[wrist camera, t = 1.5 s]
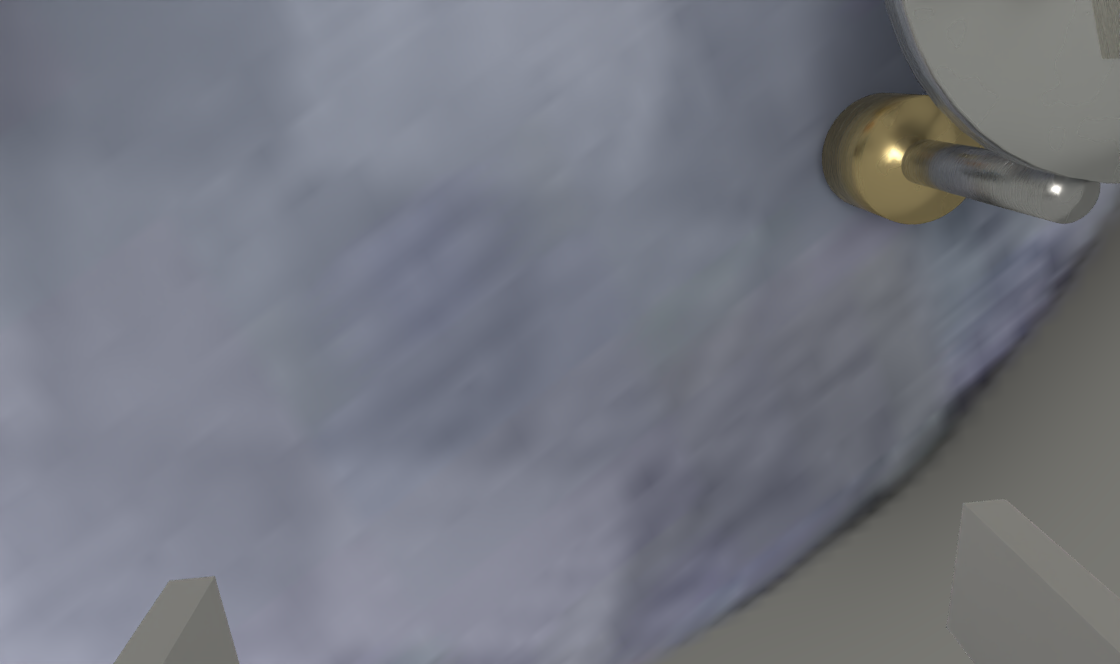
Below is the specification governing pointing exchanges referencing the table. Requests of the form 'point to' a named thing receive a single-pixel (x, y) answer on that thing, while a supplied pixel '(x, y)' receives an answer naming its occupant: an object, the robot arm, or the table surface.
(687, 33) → the table surface
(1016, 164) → the tribrach stand
